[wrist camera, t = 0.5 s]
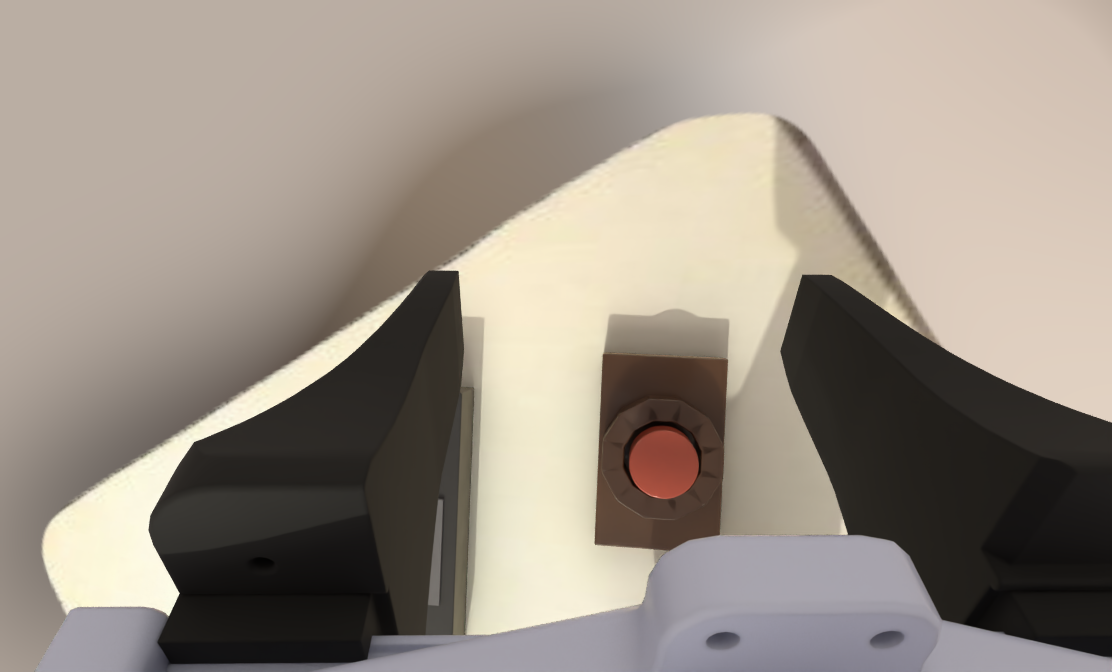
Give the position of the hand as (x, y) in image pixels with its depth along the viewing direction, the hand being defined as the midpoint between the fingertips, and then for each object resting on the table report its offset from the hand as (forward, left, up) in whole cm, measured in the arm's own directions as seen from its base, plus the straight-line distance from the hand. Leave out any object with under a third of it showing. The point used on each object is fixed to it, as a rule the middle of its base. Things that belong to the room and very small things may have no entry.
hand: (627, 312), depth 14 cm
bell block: (-7, -2, -26) cm, 27 cm away
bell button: (-7, -2, -23) cm, 24 cm away
